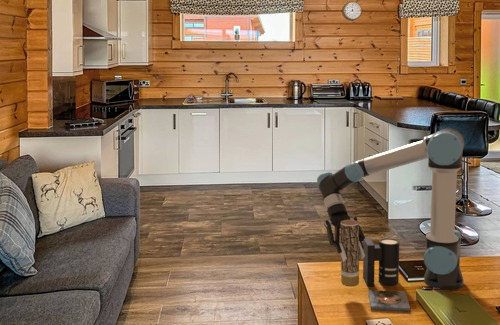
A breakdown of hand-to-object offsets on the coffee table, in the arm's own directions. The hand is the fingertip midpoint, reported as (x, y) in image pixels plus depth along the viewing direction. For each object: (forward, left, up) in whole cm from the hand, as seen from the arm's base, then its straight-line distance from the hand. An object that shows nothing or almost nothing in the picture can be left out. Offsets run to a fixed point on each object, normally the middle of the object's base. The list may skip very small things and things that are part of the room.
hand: (354, 258), depth 186 cm
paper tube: (+1, -3, -12) cm, 12 cm away
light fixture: (-12, -19, -17) cm, 28 cm away
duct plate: (-13, 0, -17) cm, 21 cm away
